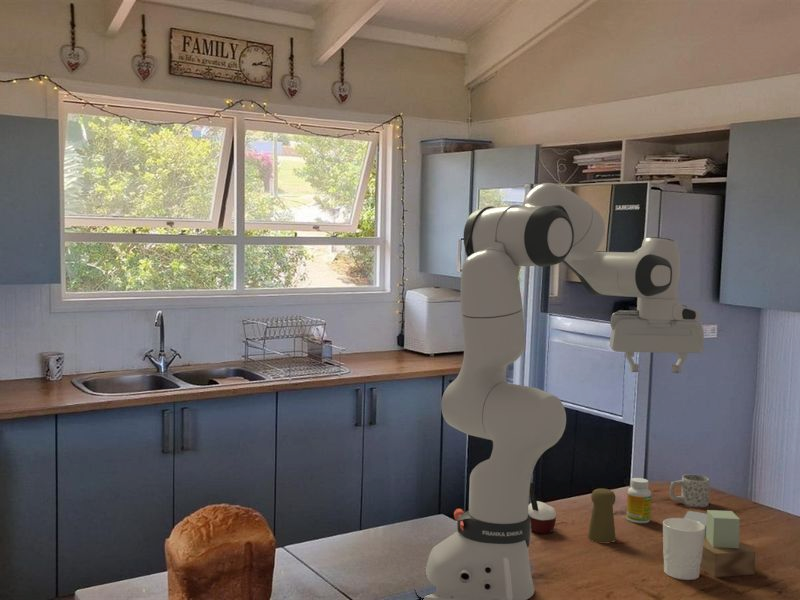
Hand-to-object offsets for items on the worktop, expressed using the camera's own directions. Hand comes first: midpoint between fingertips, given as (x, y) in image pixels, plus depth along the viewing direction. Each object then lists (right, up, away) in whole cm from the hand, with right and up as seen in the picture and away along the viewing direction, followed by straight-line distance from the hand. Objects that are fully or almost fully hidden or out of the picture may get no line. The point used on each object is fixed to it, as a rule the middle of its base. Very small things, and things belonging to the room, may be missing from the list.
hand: (655, 372), depth 182 cm
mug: (+17, -36, +26) cm, 47 cm away
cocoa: (-25, -37, +3) cm, 44 cm away
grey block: (+11, -38, -1) cm, 39 cm away
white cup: (-1, -39, -20) cm, 43 cm away
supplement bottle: (0, -37, +12) cm, 38 cm away
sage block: (+9, -34, -16) cm, 38 cm away
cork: (-12, -37, -1) cm, 39 cm away
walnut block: (+8, -39, -16) cm, 43 cm away
